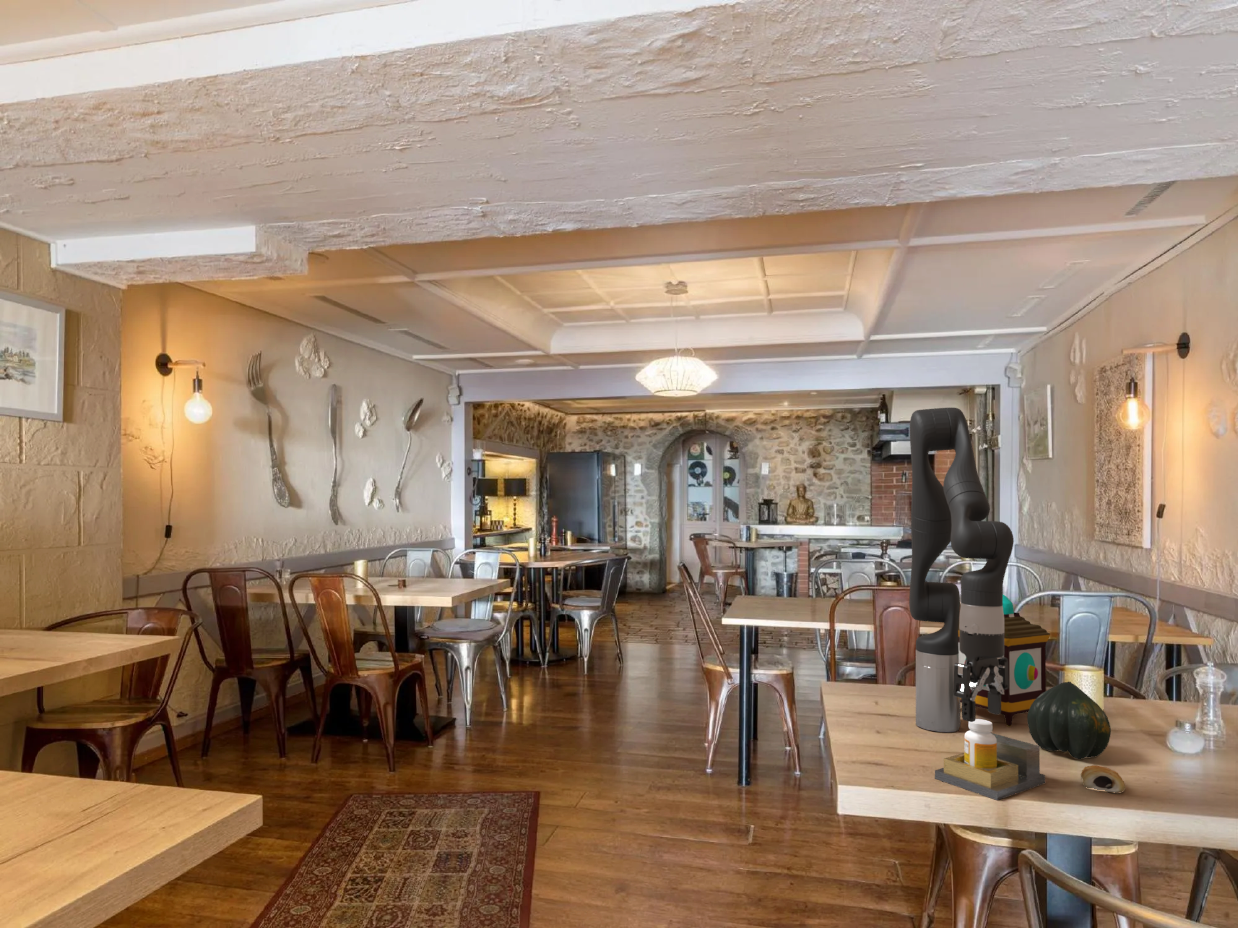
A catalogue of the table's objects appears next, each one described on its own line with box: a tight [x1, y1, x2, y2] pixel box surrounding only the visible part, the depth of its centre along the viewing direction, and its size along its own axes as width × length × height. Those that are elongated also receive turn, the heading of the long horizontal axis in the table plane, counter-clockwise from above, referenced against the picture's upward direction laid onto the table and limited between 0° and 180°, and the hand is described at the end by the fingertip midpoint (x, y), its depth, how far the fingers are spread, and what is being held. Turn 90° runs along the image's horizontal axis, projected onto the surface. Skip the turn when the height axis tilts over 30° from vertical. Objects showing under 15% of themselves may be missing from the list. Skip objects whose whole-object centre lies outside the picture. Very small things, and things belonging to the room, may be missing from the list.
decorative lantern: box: [958, 594, 1051, 728], centre depth 187 cm, size 20×20×30 cm
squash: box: [1026, 680, 1112, 760], centre depth 158 cm, size 14×15×15 cm
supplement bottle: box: [963, 718, 997, 771], centre depth 138 cm, size 5×5×10 cm
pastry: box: [1080, 764, 1126, 794], centre depth 139 cm, size 9×7×4 cm
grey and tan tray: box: [934, 732, 1046, 801], centre depth 140 cm, size 16×12×6 cm
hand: (981, 716), depth 139 cm, fingers open, 8 cm apart
